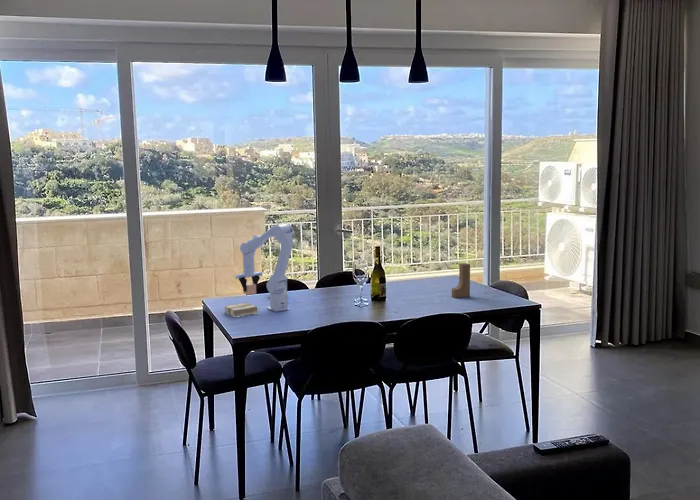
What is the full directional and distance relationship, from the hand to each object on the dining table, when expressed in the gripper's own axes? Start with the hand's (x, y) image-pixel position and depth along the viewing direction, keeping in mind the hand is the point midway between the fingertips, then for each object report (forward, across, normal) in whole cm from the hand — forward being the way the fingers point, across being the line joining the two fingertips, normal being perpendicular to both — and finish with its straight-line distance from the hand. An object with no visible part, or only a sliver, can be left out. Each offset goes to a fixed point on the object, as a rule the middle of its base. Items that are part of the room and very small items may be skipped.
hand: (249, 290), depth 354 cm
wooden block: (+8, -100, +54) cm, 114 cm away
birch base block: (+8, +12, +14) cm, 20 cm away
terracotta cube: (+2, 0, 0) cm, 2 cm away
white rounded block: (+8, -23, -11) cm, 27 cm away
